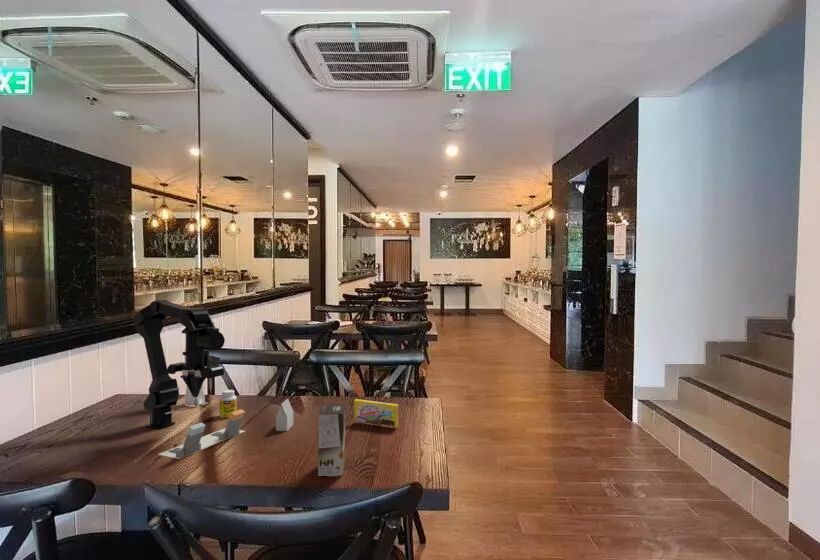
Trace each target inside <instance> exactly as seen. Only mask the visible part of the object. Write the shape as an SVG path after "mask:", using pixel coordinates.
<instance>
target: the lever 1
mask: <svg viewBox="0 0 820 560" xmlns="http://www.w3.org/2000/svg"><path fill="white" fill-rule="evenodd" d="M206 426H207V425H206V424H204V423H203V422H202V421H201V422H200V423H196V424H193V425H190V426H188V429H187V433H186V437H185V440H184V442H183V444H184V446H183V449H182V450H184V455H188V454H190V453H192V452H195V451H197V449H198V446H199V443H200V440H201V437H203V434H204V431H205V428H206ZM197 452H198V451H197ZM195 453H196V452H195ZM190 455H191V454H190ZM188 456H189V455H188Z"/></svg>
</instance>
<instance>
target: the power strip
mask: <svg viewBox="0 0 820 560" xmlns="http://www.w3.org/2000/svg"><path fill="white" fill-rule="evenodd" d="M225 429H226V427H225V428H222V429H219V430H216V431H214V432H211V433H209V434H206V435H202V437H201V440H200V443H199V446H198V449H197V451H195V452H192V453H190V454H188V455H184V450H182V449H183V446H184V443H183V444H180V445H178V446H176V447H172V448H171V449H168V450H166V451H162V452H161V453H158V456H164V457H168V458H172V459H177V460H180V459H183V458H185V457H188V456H190V455H192V454H195V453H197V452H199V451H202V450H205V449H207V448H209V447H211V446H214V445H216V444H218V443H220V442H223V441H226V440H228V439H230V438H233V437H236V436H238V435H240V434H242V433H245V432H246V430H242V429H240V427H239V428H238V431H237V433H236V435H233V436H231V437H229V438H226V433H224V432H225Z"/></svg>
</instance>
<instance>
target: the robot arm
mask: <svg viewBox="0 0 820 560" xmlns="http://www.w3.org/2000/svg"><path fill="white" fill-rule="evenodd" d="M168 317H170V318H173V319H176V320H178V322H179V324H180V325H182V326H183V327H185V328H184V329H183V330H181V334H185V347H186V352H185V351H182V356H185V355H186V363H185V362H183V361H182V362H176V363H170V364H169V365H168V366H167V361H166V356H165V352H164V347H163V343H162V337H161V333H162V331H163V328H164V321H165V320H166V319H167V318H168ZM132 322H133V324H134V327H135V329H136V332H137V334H138V335H139V336H141V337H142V338H143V341H144V346H145V350H146V354H147V355H146V356H147V359H148V361H147V362H148V365H149V371H150V375H151V382H150V385H149V387H148V393H149V394H148V396H147V397H146V399H144V402H143V407H144V408H143V409H144V410H148V411H149V423H148V424H145V427H147V428H150V427H151V429H157V430H159V429H164V428H166V427H169V426H172V425H175V424H176V422H175V421H172V420H173V419H172V416H173V415H172V414H173V413H172V407H174V406H177V403H178V400H179V395H180V391H179V390H180V389H179V386H178V380H177V379H176V378H172V377H171V376H170V375H175V374H176V373H177V372H182V373H181V374H182V375H180V378H181V379H182V380H183V382H184V383H185V385H186V387H187V386H188V388H189V390H190V392H191V394H192V396H193V397H198V395H199V392H200V389H201V386H202V384H204V381H205V380H206V379H214V378H217V377H220V376H225V368H224V366H221V365H220V362H221V357H219V356H215V355H210V351H219V350H221V349H223V347H224V345H225V341H226V340H225V339H226V338H225V337H224V334H223V333H221V332H220V328H219V327H216V326H215V322H213V320H212V317H211V316H210V313H209V312H208V310H207V309H206V308H205V307H204V308H203V307H186V306H184V305H181V304H177V303H174V302H171V301H169V300H166V299H163V300H161V299H160V300H159V299H158V300H153V301H152V302H151V303H149V305H147V306H145V307H142V308H141V309H140V310H139V311H138V312H137V313H136V314H135V315H134V317H133V321H132ZM209 350H210V351H209ZM192 369H193V370H192Z"/></svg>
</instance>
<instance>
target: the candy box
mask: <svg viewBox="0 0 820 560" xmlns="http://www.w3.org/2000/svg"><path fill="white" fill-rule="evenodd" d="M353 418H354V421H357V422H364V423H371V424H378V425H386V426H395V427H397V426H398V427H399V404H398V403H390V402H383V401H377V400H376V401H374V400H367V399H359V398H356V399H354V400H353ZM354 421H353V422H354Z"/></svg>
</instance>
